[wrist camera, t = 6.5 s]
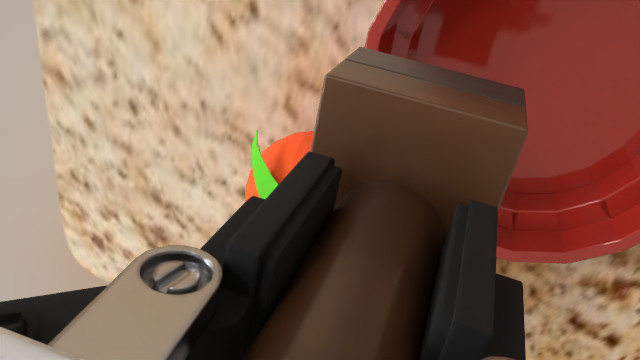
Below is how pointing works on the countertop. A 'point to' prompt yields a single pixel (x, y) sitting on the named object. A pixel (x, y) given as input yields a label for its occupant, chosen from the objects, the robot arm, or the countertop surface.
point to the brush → (391, 203)
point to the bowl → (546, 110)
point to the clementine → (275, 162)
